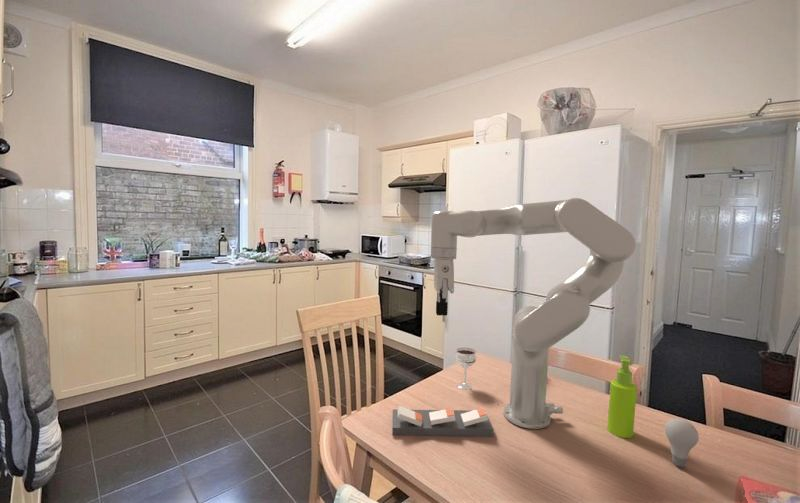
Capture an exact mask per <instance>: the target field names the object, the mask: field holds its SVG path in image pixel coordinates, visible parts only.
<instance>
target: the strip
mask: <svg viewBox="0 0 800 503" xmlns="http://www.w3.org/2000/svg"><path fill="white" fill-rule="evenodd" d="M411 410H412V411H414V412H417V413H420V414H421V415H422V425H421V427H420V426H418V425H415V424H412V423H410V422H407V421H405V420H402V419H400V418H398V408H397V409H395V408H394V409H393V408H392V426H391V427H392V428H391V434H392V436H424V437H425V436H428V437H429V436H431V437H436V436H437V437H440V436H441V437H494V427H493V425H492V423H491V420H490V419H489V416H488V415H487V417H488V420H486V421H482V422H479V423H475V424H472V425H468V426H464V423H463V420H462V417H461V414H463V413H466V412H470V411H471V410H464V409H463V410H462V409H461V410H459V409H458V410H457V409H456V410H454V409H453V412H454V415H455V421H450V422H445V423H440V424H434V425H431V421H430V415H429V412H434V411H440V410H441V409H411Z"/></svg>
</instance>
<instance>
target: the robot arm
mask: <svg viewBox="0 0 800 503" xmlns="http://www.w3.org/2000/svg"><path fill="white" fill-rule="evenodd" d="M430 229H431V232H430V233H431V235H430V236H431V237H430V259H434V260H433V261H434V265H433V287H434V290H435V291H436V301H435V304H436V306H435V314H436V316H448V305H449V302H448V301H449V300H448V297H449V293H450V294H452V295H453V294H454V292H455V264H454V263H455V262H454V260H457V250H458V248H457V245H458V236H459V237H462V238H463V237H464V238H475V237H480V236H492V235H493V236H495V235H515V236H530V235H531V236H532V235H544V234H556V233H557V234H559V233H568V234H569V235H570V236H572V237H573V238H574V239H575V240H577V241H578V242H580V243H581V244H582V245H584V246H585V247H586V248H588V249H589V253H590V254H589V256H588V259H587V260H586V261H585V263H584V264H583V265H582V266H580V268H578V269H577V270H576V271H575V272H573V273H572V274H571V275H569V276H568V277H567V278H565V279H564V280H562V281H561V282H560V283H558V284H557V285H554V287H552V288H551V289H550V290H549V291H548V292H547V294H546V297H545V301H544V302H543V303H542V304H540V305H539V306H533V305H529V306H524V307H522V308H520V309H519V310H517V312H516V313H515V316H514V317H513V323H512V326H513V328H512V352H511V353H512V354H511V369H510V370H511V371H510V372H511V373H510V387H509V388H510V390H509V392H510V393H509V403H508V404H506V405H505V406H504V408H503V416H504V417H505V419H506V420H508V421H509V422H510V423H512V424H513V425H515V426H518V427H519V428H520V427H521V428H524V429H530V430H539V429H544V428H547V427H548V426H550V425H551V420H552V418H551V415H553V414H556V415H557V414H558V415H563V413H564V410H563V406H559V405H558V406H555V403H554V402H547V400H546V399H547V384H548V368H549V352H550V348H551V347H553V346H554V345H556V344H557V343H558V342H560V341H562V340H563V339H565V338H566V337H567V336H569V335H570V334H572V333H573V332H575V331H576V330H577V329H579V328H580V327H582V325H584V323H586V321H587V319H588V318H589V316H590V312H591V306H590V304H592V303H593V302H595V301H596V300H597V299H598V298H600V297H601V296H602V295H604V294H605V293H606V292H608V291H609V290H610V289H611V288H612V287H613V286H614V285H615V284H616V283H617V282H618V280H619V278H620V277H621V275H622V272H623V269H624V266H625V265H624V264H625V261H626V260H628V259H630V258H631V257H632V256H633V254H635V251H636V248H637V245H636V244H637V242H636V239H635V236H634V235H633V234H632V232H630V230H628V229H627V228H626V227H624V226H623V225H622V224H620V223H619V222H618V221H616V220H614V219H613V218H611V217H610V216H608V215H607V214H605V213H604V212H602V211H601V210H600V209H598V207H596V206H595V205H594V204H592V203H590V202H589V201H587V200H585V199H583V198H579V197H575V198H574V197H573V198H569V199H563V200H552V201H544V202H543V201H542V202H531V203H529V202H528V203H520V204H516V205H513V206H510V207H509V206H508V207H505V208H497V209H488V210H486V209H485V210H463V211H452V210H449V211H448V210H438V211H437V210H435V211H434V212H433V213H432V214H431V228H430Z"/></svg>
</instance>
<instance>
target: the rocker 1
mask: <svg viewBox="0 0 800 503" xmlns="http://www.w3.org/2000/svg"><path fill="white" fill-rule="evenodd" d="M397 409H398V418H400V419H402V420H405V421H407V422H410V423H412V424H415V425H418V426H420V427H421V425H422V415H421V414H420V413H417V412H414V411H412V410H413V409H409V408H407V407H404V406H401V405H398V407H397Z"/></svg>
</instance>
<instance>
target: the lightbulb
mask: <svg viewBox="0 0 800 503" xmlns="http://www.w3.org/2000/svg"><path fill="white" fill-rule="evenodd" d="M664 433H665V435H666V437H667V440H668V441H669V444H670V453H671V462H672V463H673V464H674V465H675V466H676V467H679V468H681V467H686V464H687V459H688V458H689V455H690V452H691V450H692V449H693V448H694V447H695V446H697V444H698V443H699V438H700V437H699V436H700V435H699V431H698V430H697V429H696V427H695V426H694V424H693V423H691V422H690V421H688V420H686V419H683V418H678V417H677V418H671V419H670V420H668V421H667V422H666V424H665V426H664Z"/></svg>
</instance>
